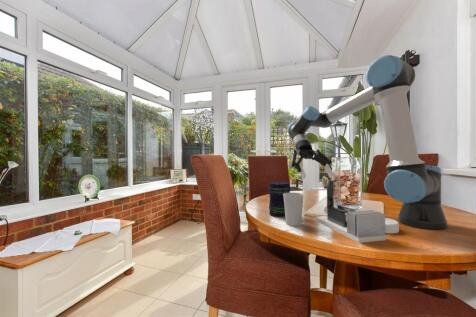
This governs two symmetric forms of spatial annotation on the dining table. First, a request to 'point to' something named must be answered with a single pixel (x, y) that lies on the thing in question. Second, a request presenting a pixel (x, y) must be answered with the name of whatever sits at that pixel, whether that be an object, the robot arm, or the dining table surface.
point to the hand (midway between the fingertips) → (318, 176)
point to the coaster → (391, 226)
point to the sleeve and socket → (358, 221)
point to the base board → (344, 231)
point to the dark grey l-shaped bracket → (331, 196)
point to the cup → (293, 208)
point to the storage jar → (277, 198)
